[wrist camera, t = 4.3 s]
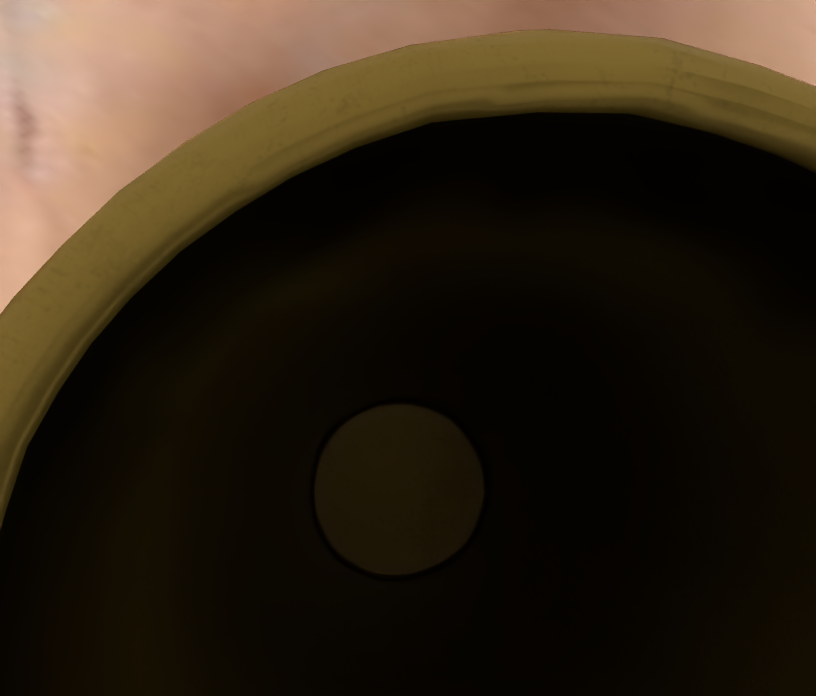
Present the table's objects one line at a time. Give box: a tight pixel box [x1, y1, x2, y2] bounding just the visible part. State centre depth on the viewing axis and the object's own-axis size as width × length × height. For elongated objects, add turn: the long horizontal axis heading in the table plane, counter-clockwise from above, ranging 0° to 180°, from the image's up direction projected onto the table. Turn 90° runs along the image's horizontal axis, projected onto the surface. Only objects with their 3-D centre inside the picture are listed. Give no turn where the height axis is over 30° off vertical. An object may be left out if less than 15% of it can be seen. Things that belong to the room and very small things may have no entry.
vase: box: [0, 29, 816, 696], centre depth 9 cm, size 6×6×14 cm
